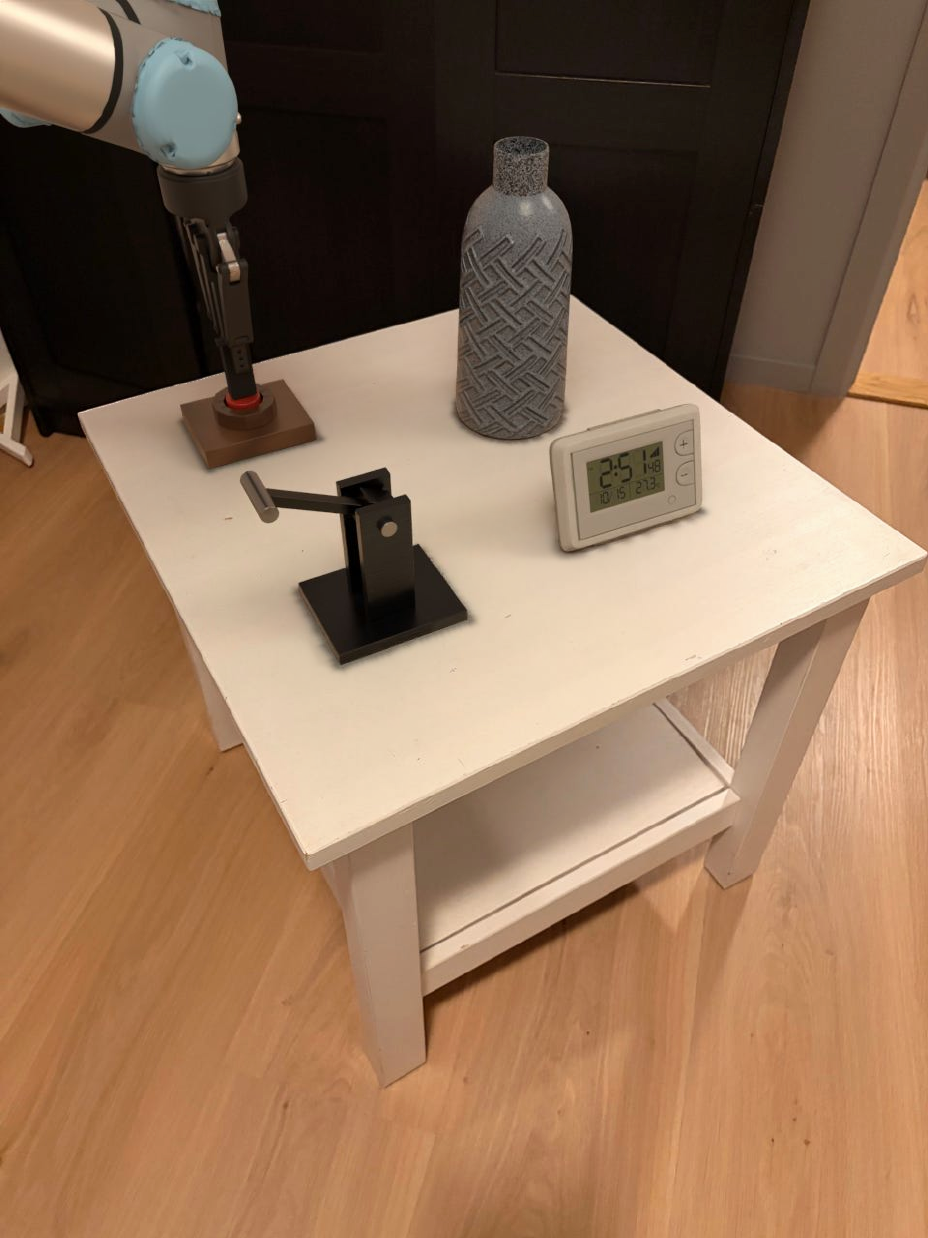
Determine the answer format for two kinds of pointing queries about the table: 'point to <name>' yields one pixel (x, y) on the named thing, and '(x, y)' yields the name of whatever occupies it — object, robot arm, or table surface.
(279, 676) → the table surface
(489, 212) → the vase
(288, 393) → the button block
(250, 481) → the lever
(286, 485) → the table surface
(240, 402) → the button
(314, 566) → the table surface
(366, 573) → the bracket
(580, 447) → the digital clock
